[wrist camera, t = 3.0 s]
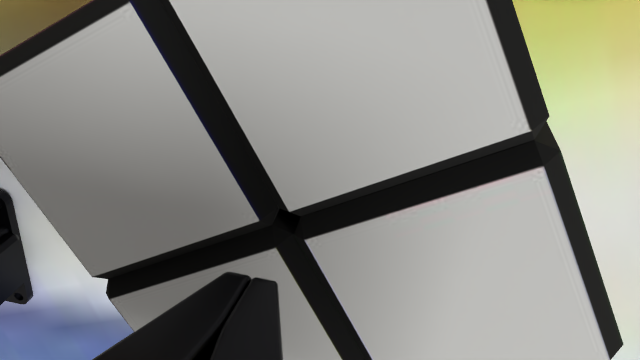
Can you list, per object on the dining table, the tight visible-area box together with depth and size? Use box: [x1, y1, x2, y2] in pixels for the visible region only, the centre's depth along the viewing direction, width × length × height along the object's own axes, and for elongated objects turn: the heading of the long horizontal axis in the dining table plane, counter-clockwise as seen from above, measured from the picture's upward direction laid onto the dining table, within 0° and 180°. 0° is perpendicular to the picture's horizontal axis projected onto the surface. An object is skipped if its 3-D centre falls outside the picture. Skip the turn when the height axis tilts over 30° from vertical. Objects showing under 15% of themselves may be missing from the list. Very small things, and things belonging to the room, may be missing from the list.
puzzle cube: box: [0, 0, 623, 360], centre depth 14 cm, size 10×10×10 cm
